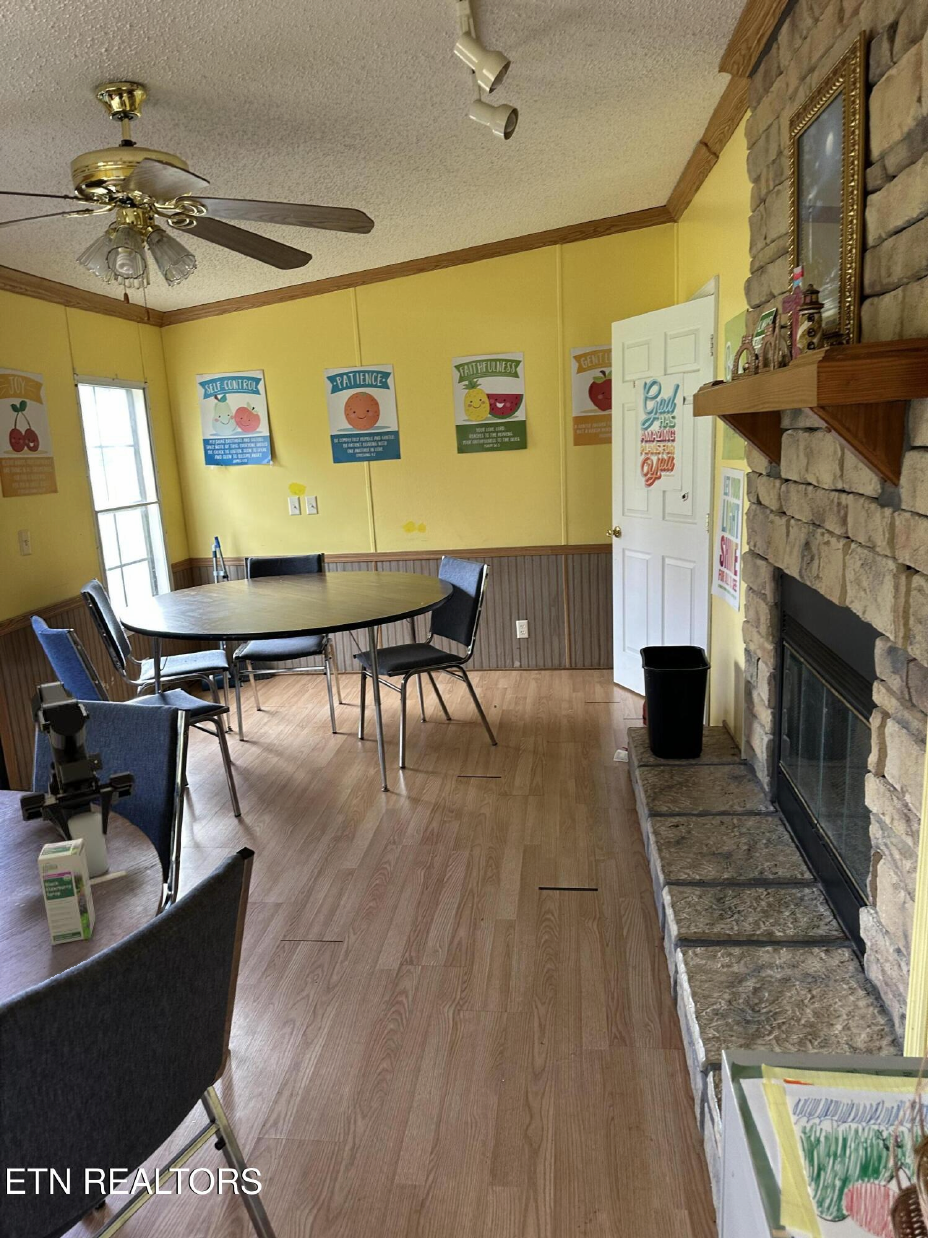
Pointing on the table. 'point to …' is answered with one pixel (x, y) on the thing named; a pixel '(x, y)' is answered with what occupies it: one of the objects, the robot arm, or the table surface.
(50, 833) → the table surface
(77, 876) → the syrup box
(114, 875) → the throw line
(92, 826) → the grey-green rounded cylinder
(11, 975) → the table surface
